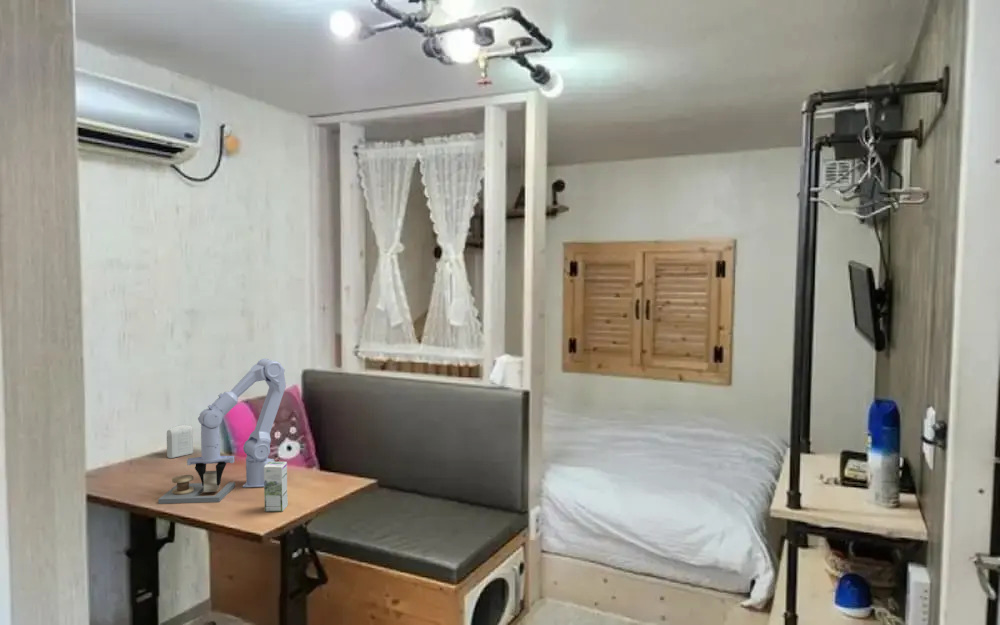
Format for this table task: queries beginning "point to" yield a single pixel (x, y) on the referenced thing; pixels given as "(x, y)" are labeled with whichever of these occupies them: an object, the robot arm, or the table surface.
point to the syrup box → (275, 486)
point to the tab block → (210, 481)
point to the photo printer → (179, 441)
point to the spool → (182, 485)
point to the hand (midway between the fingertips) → (211, 484)
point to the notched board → (195, 495)
